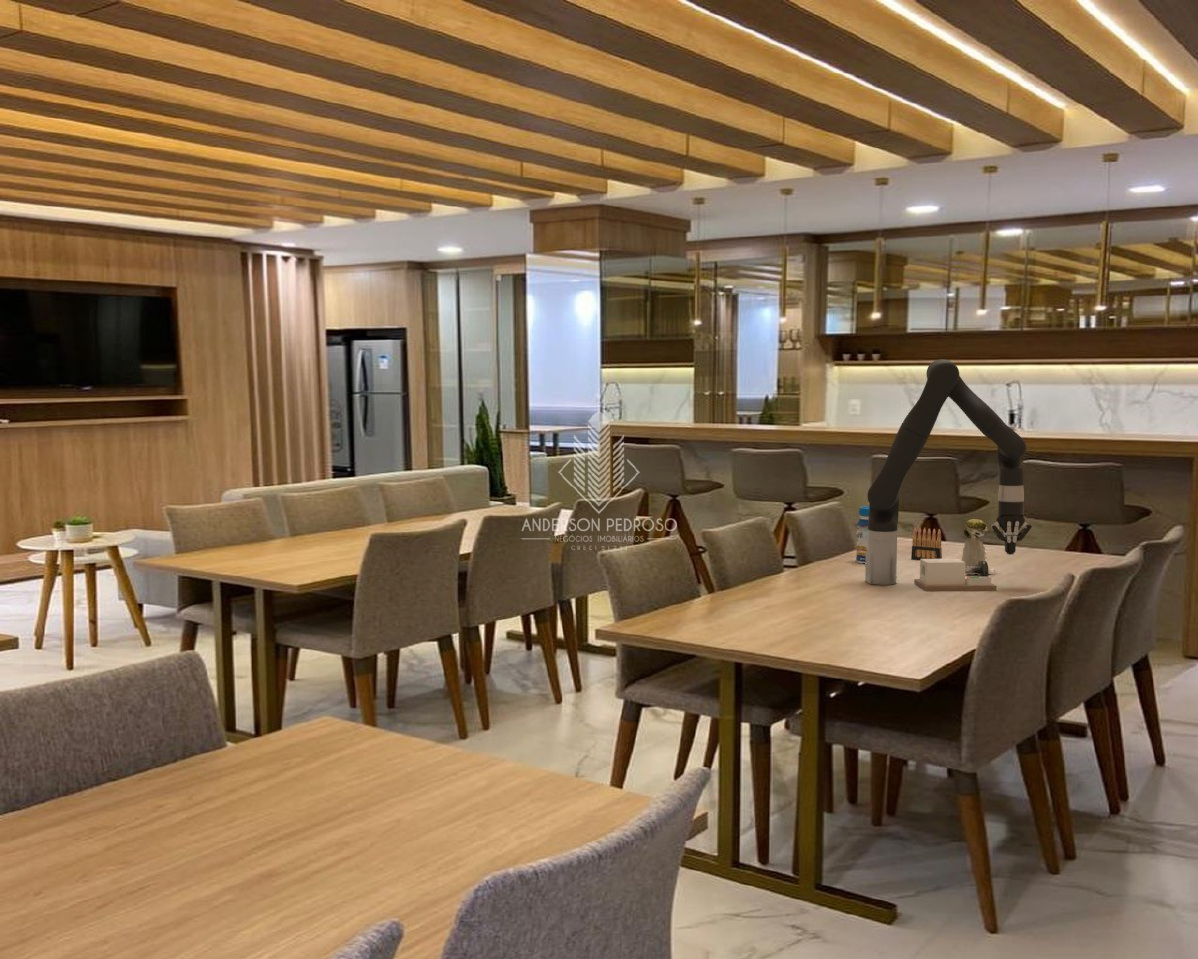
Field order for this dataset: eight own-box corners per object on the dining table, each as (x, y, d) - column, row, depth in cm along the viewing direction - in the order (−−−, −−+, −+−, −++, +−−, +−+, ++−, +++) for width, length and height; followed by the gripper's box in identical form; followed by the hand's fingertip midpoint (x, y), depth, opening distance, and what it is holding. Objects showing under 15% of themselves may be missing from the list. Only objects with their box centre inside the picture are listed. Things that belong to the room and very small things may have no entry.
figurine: (948, 573, 356) (949, 519, 354) (965, 567, 365) (967, 515, 363) (982, 577, 347) (983, 522, 346) (999, 572, 357) (1000, 518, 355)
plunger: (947, 581, 326) (948, 564, 326) (939, 577, 335) (939, 559, 334) (991, 581, 326) (991, 563, 326) (981, 576, 334) (982, 559, 334)
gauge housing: (925, 591, 326) (926, 564, 325) (914, 583, 338) (914, 557, 337) (996, 590, 326) (997, 563, 325) (982, 583, 338) (983, 557, 337)
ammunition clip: (911, 559, 383) (911, 527, 382) (912, 559, 385) (913, 526, 383) (940, 562, 377) (941, 529, 376) (941, 561, 378) (942, 528, 377)
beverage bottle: (880, 564, 373) (881, 508, 371) (856, 564, 375) (857, 508, 373) (879, 560, 381) (880, 506, 379) (855, 560, 383) (856, 505, 381)
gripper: (994, 501, 325) (993, 556, 327) (1037, 500, 325) (1036, 555, 327) (985, 498, 333) (984, 552, 334) (1027, 497, 333) (1026, 551, 334)
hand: (1010, 554), depth 331 cm, fingers closed
